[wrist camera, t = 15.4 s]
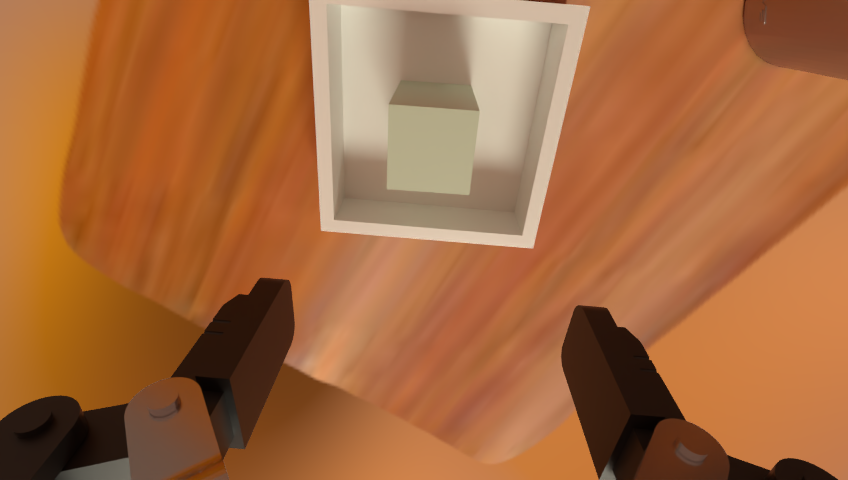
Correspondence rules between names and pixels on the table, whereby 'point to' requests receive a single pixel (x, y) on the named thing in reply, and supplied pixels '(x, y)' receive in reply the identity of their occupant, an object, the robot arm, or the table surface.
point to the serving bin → (452, 64)
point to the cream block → (432, 137)
